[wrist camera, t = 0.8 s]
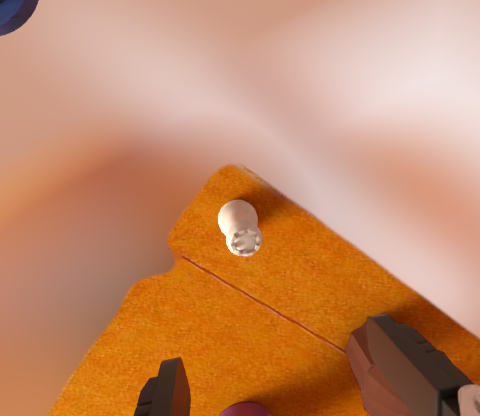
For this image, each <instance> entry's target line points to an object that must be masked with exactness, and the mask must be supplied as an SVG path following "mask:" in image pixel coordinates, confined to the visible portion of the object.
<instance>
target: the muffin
mask: <svg viewBox="0 0 480 416" xmlns="http://www.w3.org/2000/svg"><path fill="white" fill-rule="evenodd" d="M436 350H437V349H436ZM437 351H439V352H440V353H441V354H443V355H444V356H445V357H446V358H447V359H448V360H449V358H448V357H447V356H446V354H445V353H444V352H442V351H440V350H437ZM345 352H346V354H347V357H348V359H349V363H350V366H351V369H352V371H353V373H354V376H355V378H356V381H357V383H358V386H359V388H360V390H361V394H362V400H363V405H364V410H365V411H366V412H367V413H368V414H369V415H370V416H413V415H412V413H411V412H410V411H409V409H408V408H407V406H406V405H405V404H404V402H403V401H402V400H401V398H400V397H399V395H398V394H397V393H396V391H395V390H394V389H393V387H392V386H391V385H390V383H389V382H388V380H387V379H386V378H385V376H384V375H383V374H382V372H381V371H380V369H379V368H378V367H377V365H376V364H375V362H374V361H373V359H372V357H371V355H370V352H369V348H368V335H367V322H366V323H365V324H363V325H362V326H361V327H360V328H358V329H357V330H355V331H354V332H352V333H351V336H350V340H349V343H348V345H347V347H346V349H345ZM449 361H450V360H449ZM450 362H451V361H450ZM451 363H452V362H451Z"/></svg>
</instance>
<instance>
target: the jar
mask: <svg viewBox="0 0 480 416" xmlns="http://www.w3.org/2000/svg"><path fill="white" fill-rule="evenodd" d="M220 416H272V414H271V413H270V411H269V410H268V409H267V408H266V407H264V406H262V405H260V404H257V403H253V402H243V403H238V404H235V405H232V406H230V407H229V408H227V409H226V410H224V411H223V412H222V413H221V414H220Z"/></svg>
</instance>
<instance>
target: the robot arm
mask: <svg viewBox="0 0 480 416" xmlns="http://www.w3.org/2000/svg"><path fill="white" fill-rule="evenodd" d="M2 1H3V0H0V3H1V2H2ZM367 335H368V348H369V352H370V355H371V357H372V359H373V361H374V362H375V364H376V365H377V367H378V368H379V369H380V371H381V372H382V374H383V375H384V376H385V378H386V379H387V380H388V382H389V383H390V385H391V386H392V387H393V389H394V390H395V391H396V393H397V394H398V395H399V397H400V398H401V400H402V401H403V402H404V404H405V405H406V406H407V408H408V409H409V411H410V412H411V413H412V415H413V416H480V385H475V384H474V383H473V382H472V381H471V380H470V379H468V378H467V377H466V376H465V375H464V374H463V373H462V372H461V371H460V370H459V369H458V368H457V367H455V366H454V365H453V364H452V363H451V362H450V361H449V360H448V359H447V358H446V357H445V356H444V355H443V354H441V353H440V352H439V351H437V350H436V348H435V347H434V346H433V345H432V344H431V343H430V342H429V343H428V341H427V340H426V339H425V338H424V337H423V336H422V335H421V334H420V333H419V332H418V331H417V330H415V329H413V328H411V327H409V326H407V325H405V324H403V323H401V324H397V323H396V322H395V321H394V320H393V319H392V318H391V317H390V316H389V315H388V314H386V313H383V314H379V315H374V316H370V317H367ZM190 403H191V397H190V388H189V384H188V380H187V376H186V373H185V369H184V365H183V362H182V359H181V357H178V358H174V359H169V360H165V361H162V362H161V365H160V369H159V373H158V377H153V378H149V380H148V381H147V383H146V384H145V386H144V387H143V389H142V390H141V393H140V396H139V400H138V403H137V408H136V410H135V413H134V416H189V415H190Z"/></svg>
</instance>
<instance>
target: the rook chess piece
mask: <svg viewBox="0 0 480 416" xmlns="http://www.w3.org/2000/svg"><path fill="white" fill-rule="evenodd" d="M218 223H219V226H220V228H221V231H222V232H223V233H224V234H225V235H226V243H227V246H228V248H229V250H230V251H231V252H232V253H233V254H236V255H238V256H241V257H242V256H248V257H249V256H252V255H253V254H254V253H255V252H256V251H258V249H259V248H260V246H261V244H262V234H261V231H260V229H259V228H258V227H257V224H258V217H257V213H256V211H255V208H254V207H253V206H252V205H251V204H250V203H248V202H246V201H244V200H233V201H230V202H228V203H226V204H225V205H224V206H223V207H222V208H221V210H220V212H219V215H218Z"/></svg>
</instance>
